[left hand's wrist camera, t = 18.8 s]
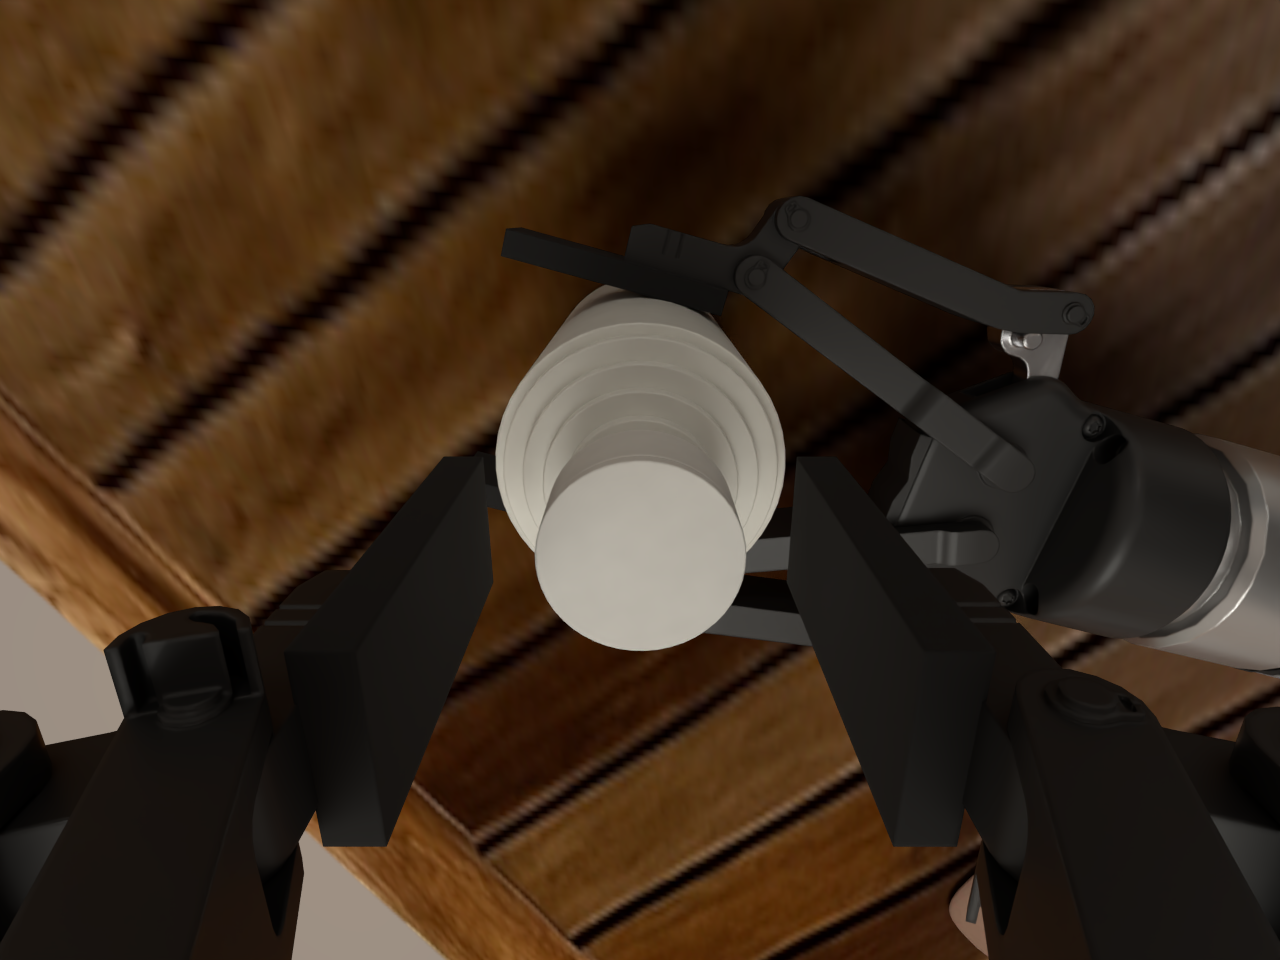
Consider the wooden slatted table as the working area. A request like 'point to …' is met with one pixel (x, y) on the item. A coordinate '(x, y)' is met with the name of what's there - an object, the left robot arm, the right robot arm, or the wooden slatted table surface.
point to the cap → (640, 542)
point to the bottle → (639, 403)
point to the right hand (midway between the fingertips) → (489, 364)
